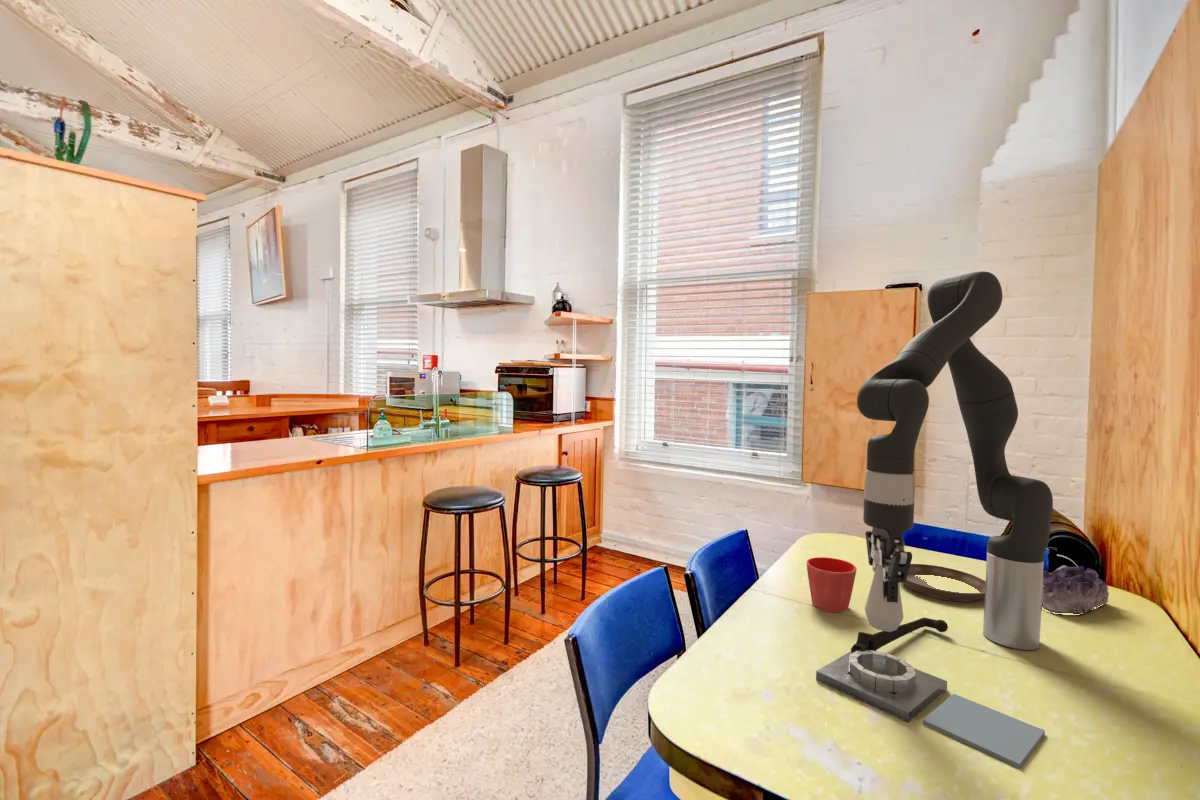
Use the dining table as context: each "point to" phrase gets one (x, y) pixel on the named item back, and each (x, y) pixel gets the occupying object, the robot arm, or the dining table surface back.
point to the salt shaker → (882, 603)
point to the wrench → (894, 634)
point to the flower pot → (831, 583)
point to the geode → (1073, 590)
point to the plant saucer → (961, 576)
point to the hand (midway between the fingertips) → (885, 598)
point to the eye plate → (883, 682)
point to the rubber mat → (985, 729)
